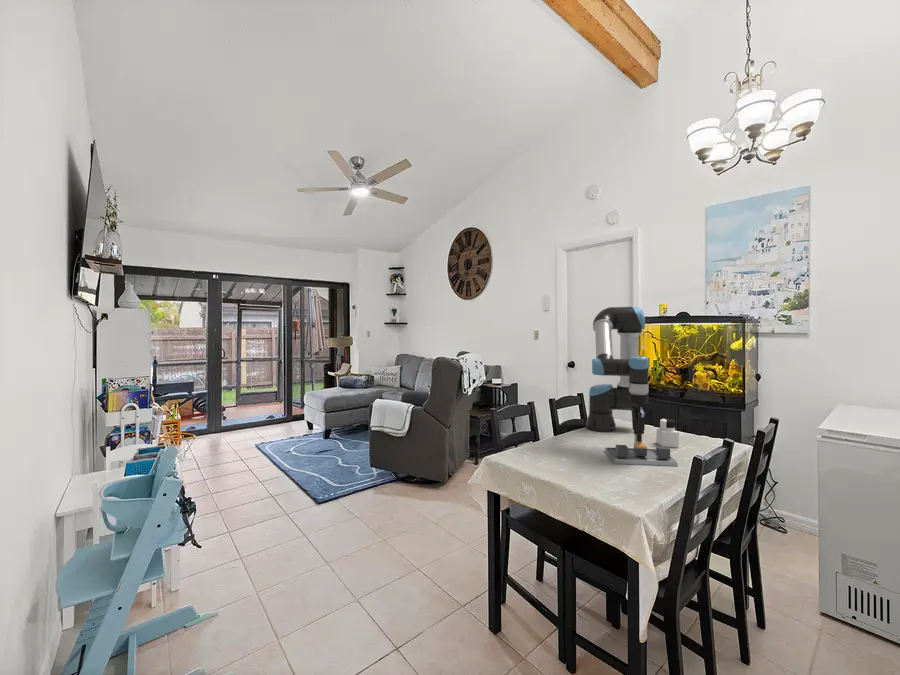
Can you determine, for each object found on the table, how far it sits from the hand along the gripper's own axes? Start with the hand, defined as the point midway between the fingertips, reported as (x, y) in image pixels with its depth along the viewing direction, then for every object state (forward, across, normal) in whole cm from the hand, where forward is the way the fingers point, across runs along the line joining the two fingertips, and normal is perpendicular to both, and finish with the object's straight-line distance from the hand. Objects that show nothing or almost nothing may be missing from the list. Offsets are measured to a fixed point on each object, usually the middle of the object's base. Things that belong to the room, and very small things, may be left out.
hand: (638, 448), depth 172 cm
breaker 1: (+2, +6, -8) cm, 10 cm away
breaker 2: (+2, +6, +8) cm, 10 cm away
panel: (+4, +2, 0) cm, 4 cm away
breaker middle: (+2, +3, 0) cm, 3 cm away
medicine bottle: (+4, -19, +18) cm, 26 cm away
